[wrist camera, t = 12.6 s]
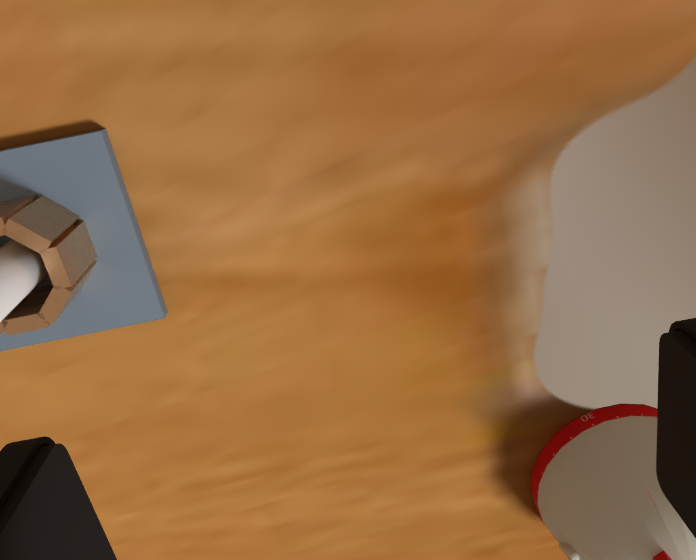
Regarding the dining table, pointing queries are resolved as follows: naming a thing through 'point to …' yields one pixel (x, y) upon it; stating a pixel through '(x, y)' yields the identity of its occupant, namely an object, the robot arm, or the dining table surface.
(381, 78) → the dining table surface
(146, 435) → the dining table surface
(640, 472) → the kitchen timer
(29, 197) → the ring
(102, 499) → the dining table surface
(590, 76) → the dining table surface
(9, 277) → the piston stand
